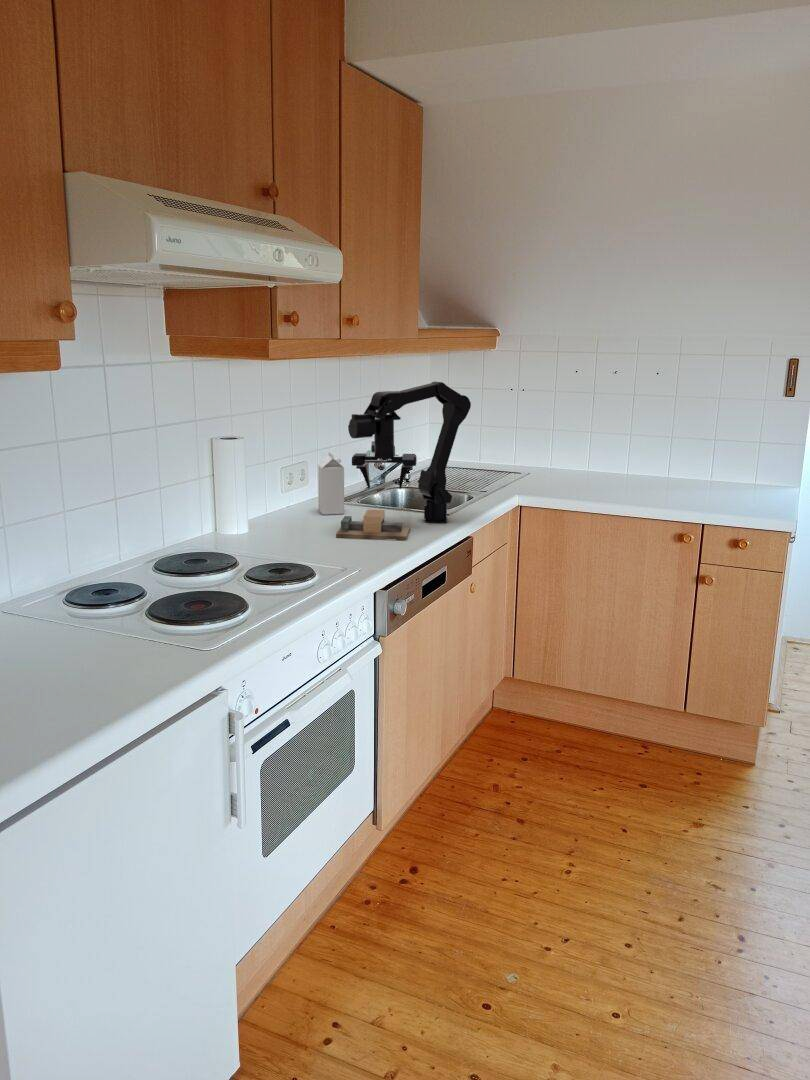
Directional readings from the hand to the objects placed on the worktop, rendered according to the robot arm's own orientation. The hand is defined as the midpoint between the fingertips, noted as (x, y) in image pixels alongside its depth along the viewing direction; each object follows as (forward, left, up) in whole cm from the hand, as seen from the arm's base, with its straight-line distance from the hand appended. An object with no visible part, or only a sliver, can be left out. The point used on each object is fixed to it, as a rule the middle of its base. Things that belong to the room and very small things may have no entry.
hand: (384, 488), depth 248 cm
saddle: (+2, +10, -10) cm, 14 cm away
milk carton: (+19, -16, -12) cm, 28 cm away
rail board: (+2, +10, -12) cm, 15 cm away
